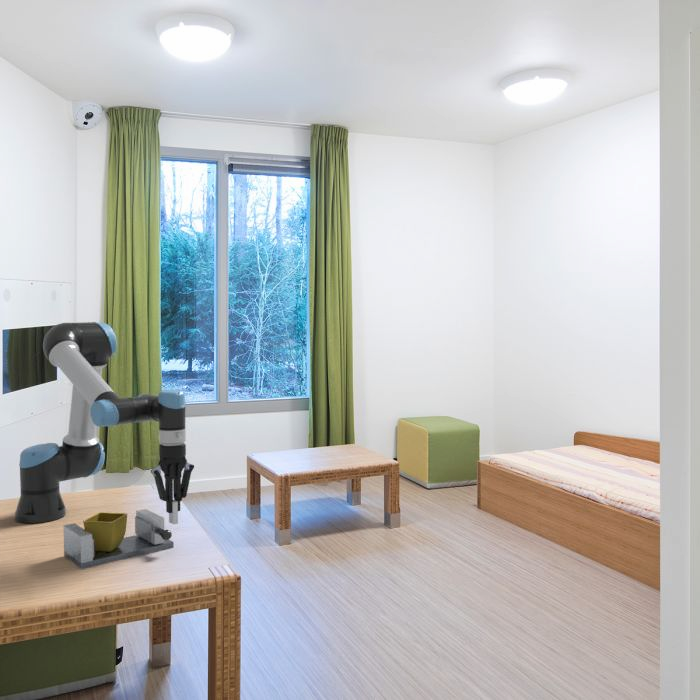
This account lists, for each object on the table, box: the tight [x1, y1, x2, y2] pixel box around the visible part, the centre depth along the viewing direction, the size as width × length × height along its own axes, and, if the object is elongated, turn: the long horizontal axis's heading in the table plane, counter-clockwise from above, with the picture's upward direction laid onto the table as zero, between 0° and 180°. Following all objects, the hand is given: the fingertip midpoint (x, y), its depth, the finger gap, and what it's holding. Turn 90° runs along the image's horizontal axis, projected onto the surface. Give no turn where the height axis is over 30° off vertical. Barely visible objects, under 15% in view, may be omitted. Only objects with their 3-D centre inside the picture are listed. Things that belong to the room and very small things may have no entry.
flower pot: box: [83, 512, 128, 552], centre depth 190 cm, size 9×9×9 cm
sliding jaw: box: [134, 508, 172, 545], centre depth 196 cm, size 18×4×7 cm, turn 41°
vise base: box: [63, 522, 174, 570], centre depth 192 cm, size 13×26×8 cm, turn 131°
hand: (173, 522), depth 203 cm, fingers closed
